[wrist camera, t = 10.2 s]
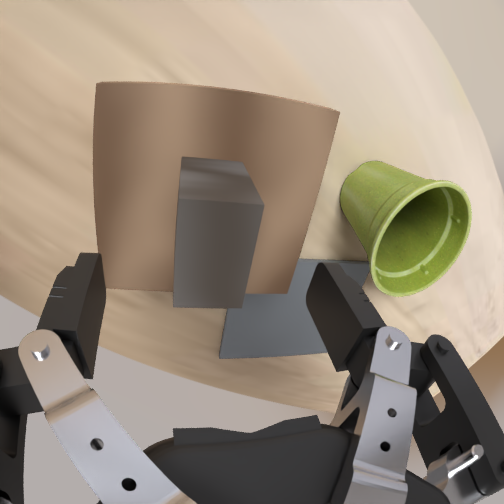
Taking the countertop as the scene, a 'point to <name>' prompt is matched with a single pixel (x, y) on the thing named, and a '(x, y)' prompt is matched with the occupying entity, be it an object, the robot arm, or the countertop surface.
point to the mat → (280, 318)
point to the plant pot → (405, 225)
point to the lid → (204, 188)
